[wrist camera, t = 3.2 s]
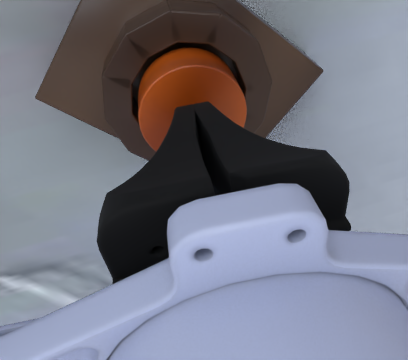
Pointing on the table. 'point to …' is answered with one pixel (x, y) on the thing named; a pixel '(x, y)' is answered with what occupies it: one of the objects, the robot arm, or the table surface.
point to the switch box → (160, 44)
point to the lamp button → (186, 90)
